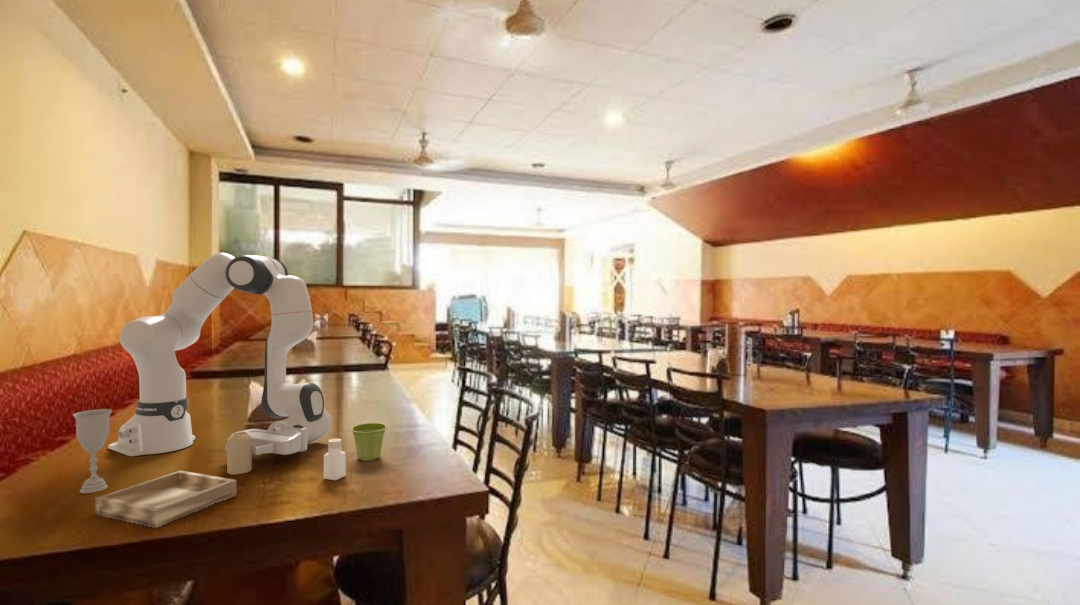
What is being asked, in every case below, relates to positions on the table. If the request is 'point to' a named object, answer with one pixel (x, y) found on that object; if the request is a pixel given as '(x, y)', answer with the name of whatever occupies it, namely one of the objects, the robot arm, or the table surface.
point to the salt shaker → (334, 460)
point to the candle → (239, 453)
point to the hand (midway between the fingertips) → (240, 449)
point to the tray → (165, 498)
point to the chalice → (93, 442)
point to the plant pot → (369, 440)
